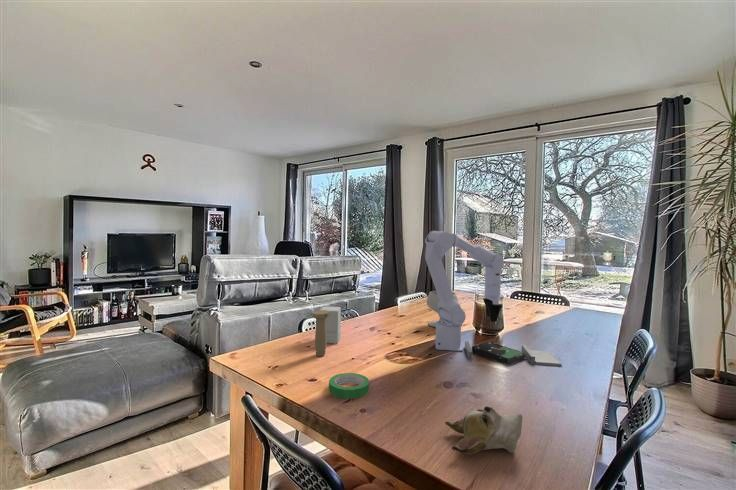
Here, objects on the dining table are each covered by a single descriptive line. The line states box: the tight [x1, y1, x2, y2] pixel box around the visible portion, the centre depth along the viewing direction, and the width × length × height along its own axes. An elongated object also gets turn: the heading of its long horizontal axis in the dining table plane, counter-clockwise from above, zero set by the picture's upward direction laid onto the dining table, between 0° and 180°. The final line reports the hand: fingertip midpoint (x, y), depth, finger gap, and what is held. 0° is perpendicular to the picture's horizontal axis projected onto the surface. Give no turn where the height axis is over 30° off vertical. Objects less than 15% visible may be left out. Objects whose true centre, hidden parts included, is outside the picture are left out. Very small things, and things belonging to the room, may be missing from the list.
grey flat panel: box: [464, 340, 563, 367], centre depth 126 cm, size 30×12×2 cm, turn 81°
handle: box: [311, 309, 330, 357], centre depth 123 cm, size 5×6×15 cm
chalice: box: [426, 290, 459, 328], centre depth 164 cm, size 14×14×15 cm
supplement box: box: [320, 306, 342, 344], centre depth 139 cm, size 7×7×13 cm
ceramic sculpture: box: [444, 406, 523, 455], centre depth 74 cm, size 11×9×15 cm
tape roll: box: [328, 372, 370, 400], centre depth 99 cm, size 11×11×3 cm
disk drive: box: [471, 341, 526, 366], centre depth 127 cm, size 10×3×15 cm
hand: (491, 318), depth 140 cm, fingers open, 7 cm apart
